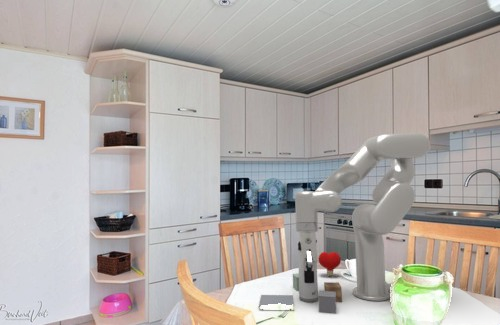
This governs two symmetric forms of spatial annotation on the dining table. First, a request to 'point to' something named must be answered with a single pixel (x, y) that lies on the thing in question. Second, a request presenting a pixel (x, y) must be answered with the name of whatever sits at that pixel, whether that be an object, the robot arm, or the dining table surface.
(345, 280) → the dining table surface
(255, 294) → the dining table surface
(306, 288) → the travel mug
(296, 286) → the sage green block
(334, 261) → the red heart figurine
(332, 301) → the charcoal block
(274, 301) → the coaster mat
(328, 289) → the walnut block
